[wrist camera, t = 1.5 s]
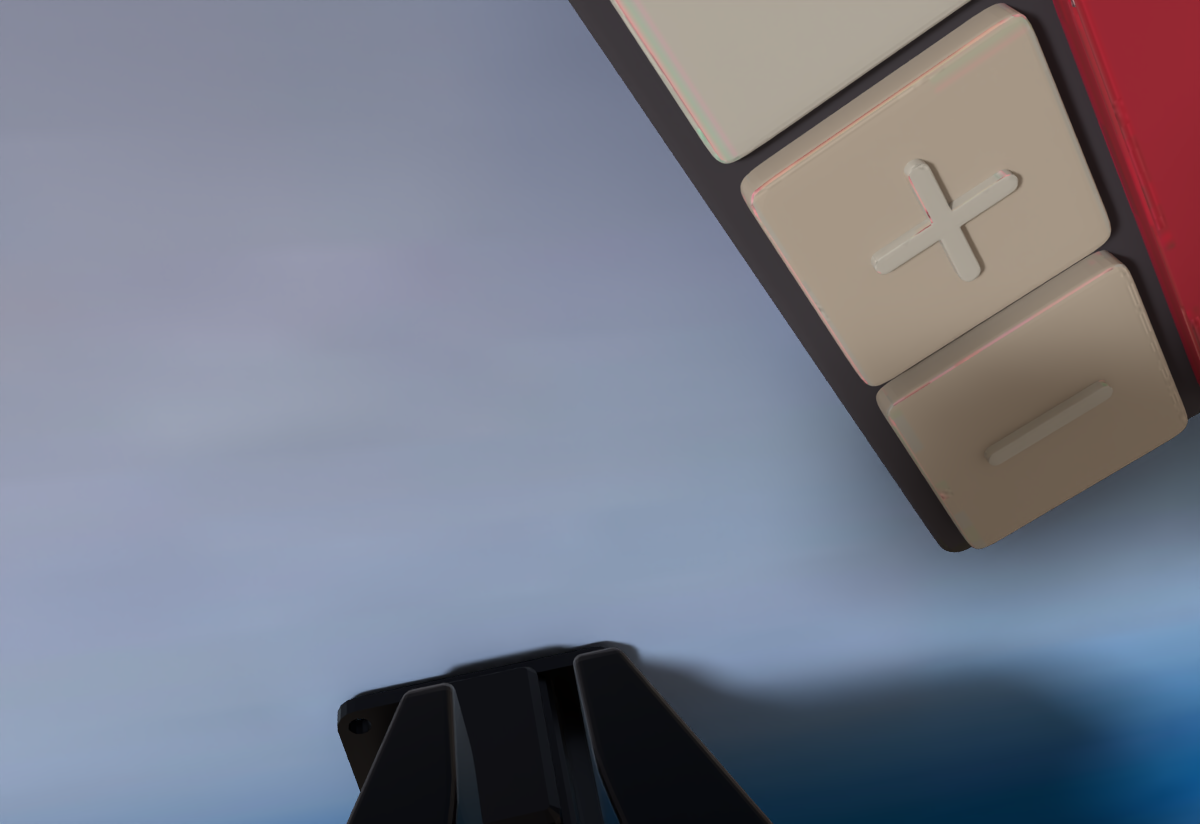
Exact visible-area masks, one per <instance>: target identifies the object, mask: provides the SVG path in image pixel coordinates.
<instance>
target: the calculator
mask: <svg viewBox="0 0 1200 824" xmlns="http://www.w3.org/2000/svg"><path fill="white" fill-rule="evenodd" d="M569 2H570V3H571V5H572V6H573V8H574V9H575V11H576V12H577V14H578V15H579V17H580V18H581V20H582V21H583V23H584V24H585V25H586V27H587V28H588V30H589V31H590V33H591V34H592V36H593V37H594V39H595V40H596V42H597V43H598V45H599V46H600V48H601V49H602V50H603V52H604V53H605V55H606V56H607V58H608V59H609V61H610V62H611V64H612V65H613V67H614V68H615V70H616V71H617V73H618V74H619V75H620V77H621V78H622V80H623V81H624V83H625V84H626V86H627V87H628V89H629V90H630V92H631V93H632V95H633V96H634V98H635V99H636V101H637V102H638V103H639V105H640V106H641V108H642V109H643V111H644V112H645V114H646V115H647V117H648V118H649V120H650V121H651V123H652V124H653V126H654V127H655V128H656V130H657V131H658V133H659V134H660V136H661V137H662V139H663V140H664V142H665V143H666V145H667V146H668V148H669V149H670V151H671V152H672V153H673V155H674V156H675V158H676V159H677V161H678V162H679V164H680V165H681V167H682V168H683V170H684V171H685V173H686V174H687V176H688V177H689V178H690V180H691V181H692V183H693V184H694V186H695V187H696V189H697V190H698V192H699V193H700V195H701V196H702V198H703V199H704V201H705V202H706V204H707V205H708V206H709V208H710V209H711V211H712V212H713V214H714V215H715V217H716V218H717V220H718V221H719V223H720V224H721V226H722V227H723V229H724V230H725V231H726V233H727V234H728V236H729V237H730V239H731V240H732V242H733V243H734V245H735V246H736V248H737V249H738V251H739V252H740V254H741V255H742V256H743V258H744V259H745V261H746V262H747V264H748V265H749V267H750V268H751V270H752V271H753V273H754V274H755V276H756V277H757V279H758V280H759V281H760V283H761V284H762V286H763V287H764V289H765V290H766V292H767V293H768V295H769V296H770V298H771V299H772V301H773V302H774V304H775V305H776V306H777V308H778V309H779V311H780V312H781V314H782V315H783V317H784V318H785V320H786V321H787V323H788V324H789V326H790V327H791V329H792V330H793V331H794V333H795V334H796V336H797V337H798V339H799V340H800V342H801V343H802V345H803V346H804V348H805V349H806V351H807V352H808V354H809V355H810V356H811V358H812V359H813V361H814V362H815V364H816V365H817V367H818V368H819V370H820V371H821V373H822V374H823V376H824V377H825V379H826V380H827V381H828V383H829V384H830V386H831V387H832V389H833V390H834V392H835V393H836V395H837V396H838V398H839V399H840V401H841V402H842V404H843V405H844V406H845V408H846V409H847V411H848V412H849V414H850V415H851V417H852V418H853V420H854V421H855V423H856V424H857V426H858V427H859V429H860V430H861V431H862V433H863V434H864V436H865V437H866V439H867V440H868V442H869V443H870V445H871V446H872V448H873V449H874V451H875V452H876V454H877V455H878V456H879V458H880V459H881V461H882V462H883V464H884V465H885V467H886V468H887V470H888V471H889V473H890V474H891V476H892V477H893V479H894V480H895V481H896V483H897V484H898V486H899V487H900V489H901V490H902V492H903V493H904V495H905V496H906V498H907V499H908V501H909V502H910V504H911V505H912V506H913V508H914V509H915V511H916V512H917V514H918V515H919V517H920V518H921V520H922V521H923V523H924V524H925V526H926V527H927V529H928V530H929V531H930V533H931V534H932V536H933V537H934V538H935V540H936V541H937V543H938V544H939V545H940V546H941V547H942V548H943V549H944V550H946V551H949V552H960V551H964V550H966V549H968V548H970V547H973V548H975V549H982V548H985V547H987V546H989V545H991V544H994V543H995V542H997V541H999V540H1001V539H1002V538H1004V537H1006V536H1007V535H1009V534H1011V533H1012V532H1014V531H1016V530H1018V529H1019V528H1021V527H1023V526H1024V525H1026V524H1028V523H1029V522H1031V521H1033V520H1035V519H1036V518H1038V517H1040V516H1041V515H1043V514H1045V513H1046V512H1048V511H1050V510H1052V509H1053V508H1055V507H1057V506H1058V505H1060V504H1062V503H1063V502H1065V501H1067V500H1069V499H1070V498H1072V497H1074V496H1075V495H1077V494H1079V493H1080V492H1082V491H1084V490H1086V489H1087V488H1089V487H1091V486H1092V485H1094V484H1096V483H1097V482H1099V481H1101V480H1103V479H1104V478H1106V477H1108V476H1109V475H1111V474H1113V473H1114V472H1116V471H1118V470H1120V469H1121V468H1123V467H1125V466H1126V465H1128V464H1130V463H1131V462H1133V461H1135V460H1137V459H1138V458H1140V457H1142V456H1143V455H1145V454H1147V453H1148V452H1150V451H1152V450H1153V449H1155V448H1157V447H1159V446H1160V445H1162V444H1164V443H1165V442H1167V441H1169V440H1170V439H1172V438H1174V437H1175V436H1176V435H1178V434H1179V433H1181V432H1182V431H1183V430H1184V429H1185V428H1186V425H1187V422H1188V419H1189V418H1191V417H1193V416H1194V415H1196V414H1198V413H1199V412H1200V0H569Z"/></svg>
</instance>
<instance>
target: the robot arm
mask: <svg viewBox="0 0 1200 824" xmlns="http://www.w3.org/2000/svg"><path fill="white" fill-rule="evenodd" d="M360 718H364V720H355V719H360ZM337 726H338V733H339V735H340V738H341V741H342V744H343V746H344V749H345V752H346V754H347V757H348V760H349V762H350V765H351V768H352V770H353V773H354V776H355V779H356V781H357V784H358V787H359V789H360V794H359V797H358V799H357V801H356V803H355V806H354V808H353V810H352V812H351V815H350V817H349V819H348V822H347V824H773V823H772V822H771V821H770V820H769V818H768V817H767V816H766V815H765V814H764V813H763V812H762V810H761V809H760V808H759V807H758V806H757V805H756V804H755V802H754V801H753V800H752V799H751V798H750V797H749V796H748V794H747V793H746V792H745V791H744V790H743V789H742V787H741V786H740V785H739V784H738V783H737V782H736V781H735V779H734V778H733V777H732V776H731V775H730V774H729V773H728V771H727V770H726V769H725V768H724V767H723V766H722V765H721V763H720V762H719V761H718V760H717V759H716V758H715V756H714V755H713V754H712V753H711V752H710V751H709V750H708V748H707V747H706V746H705V745H704V744H703V743H702V742H701V740H700V739H699V738H698V737H697V736H696V735H695V734H694V732H693V731H692V730H691V729H690V728H689V727H688V725H687V724H686V723H685V722H684V721H683V720H682V719H681V717H680V716H679V715H678V714H677V713H676V712H675V711H674V709H673V708H672V707H671V706H670V705H669V704H668V703H667V701H666V700H665V699H664V698H663V697H662V696H661V694H660V693H659V692H658V691H657V690H656V689H655V688H654V686H653V685H652V684H651V683H650V682H649V681H648V680H647V678H646V677H645V676H644V675H643V674H642V673H641V672H640V670H639V669H638V668H637V667H636V666H635V665H634V663H633V662H632V661H631V660H630V659H629V658H628V657H627V655H626V654H625V653H624V652H623V651H621V650H620V649H618V648H615V647H611V648H604V647H593V648H588V649H583V650H578V651H574V652H569V653H564V654H560V655H555V656H550V657H545V658H541V659H536V660H531V661H527V662H522V663H517V664H513V665H508V666H503V667H498V668H494V669H489V670H484V671H480V672H475V673H470V674H465V675H461V676H456V677H451V678H447V679H442V680H437V681H432V682H428V683H423V684H418V685H414V686H409V687H404V688H400V689H395V690H390V691H385V692H381V693H376V694H371V695H367V696H362V697H357V698H353V699H351V700H348V701H346V702H345V703H343V704H342V705H341V706H340V708H339V710H338V722H337Z"/></svg>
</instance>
